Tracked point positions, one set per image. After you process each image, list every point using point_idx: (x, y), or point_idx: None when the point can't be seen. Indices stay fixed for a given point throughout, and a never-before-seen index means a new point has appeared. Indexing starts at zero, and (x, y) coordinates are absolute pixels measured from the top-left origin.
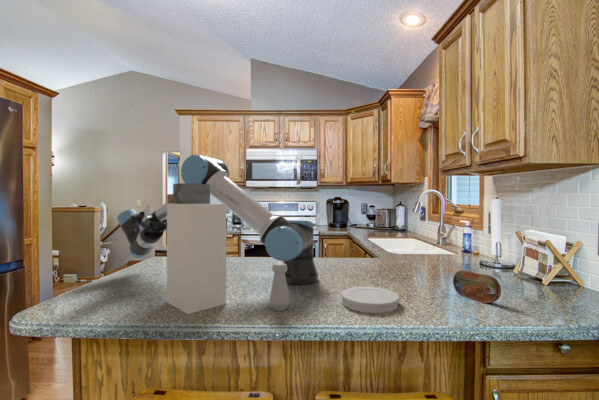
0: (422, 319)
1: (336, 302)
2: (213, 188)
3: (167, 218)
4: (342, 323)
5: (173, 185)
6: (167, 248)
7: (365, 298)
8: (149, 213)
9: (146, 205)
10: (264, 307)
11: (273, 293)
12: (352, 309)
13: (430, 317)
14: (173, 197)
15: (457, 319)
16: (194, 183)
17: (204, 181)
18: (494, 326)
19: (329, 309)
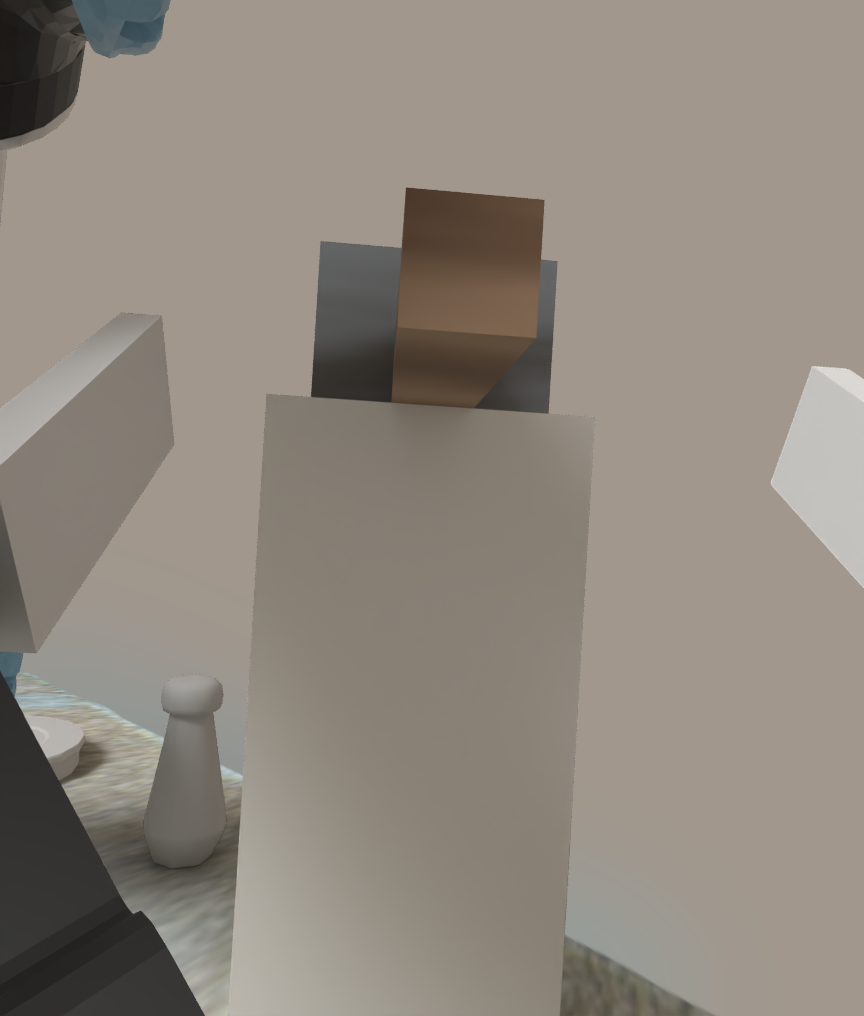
0: (70, 719)
1: None
2: (2, 158)
3: (584, 537)
4: None
5: (555, 274)
6: (570, 780)
7: None
8: (792, 506)
9: (852, 377)
10: (202, 884)
11: (220, 788)
12: (68, 774)
13: (48, 715)
14: (550, 369)
15: (38, 702)
16: (161, 28)
17: (84, 46)
18: (53, 686)
19: (100, 796)
